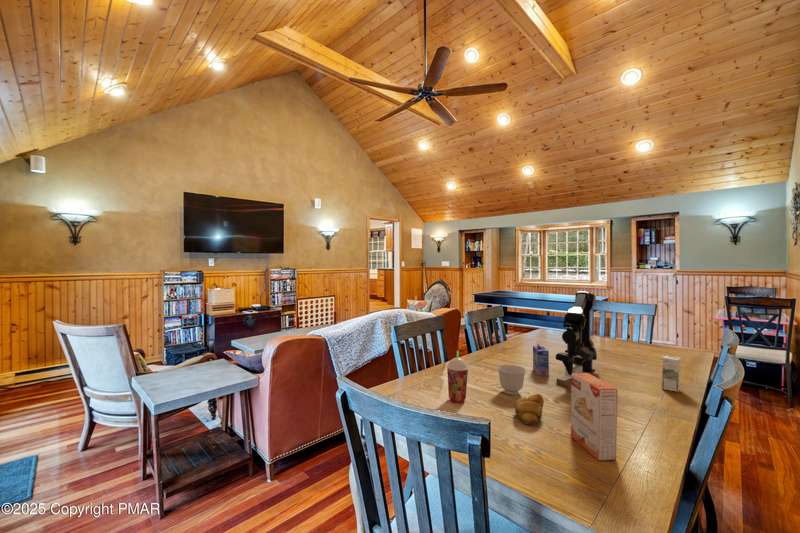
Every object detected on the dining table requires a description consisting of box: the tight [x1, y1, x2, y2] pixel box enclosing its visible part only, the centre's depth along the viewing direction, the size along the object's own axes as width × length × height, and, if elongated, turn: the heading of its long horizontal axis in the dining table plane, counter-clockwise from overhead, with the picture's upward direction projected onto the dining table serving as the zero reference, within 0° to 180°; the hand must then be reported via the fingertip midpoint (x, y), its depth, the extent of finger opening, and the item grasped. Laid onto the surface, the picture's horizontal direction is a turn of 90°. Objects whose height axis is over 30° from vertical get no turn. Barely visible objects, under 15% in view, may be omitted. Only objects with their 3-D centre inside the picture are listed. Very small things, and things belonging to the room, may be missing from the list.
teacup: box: [496, 364, 527, 396], centre depth 153 cm, size 12×15×10 cm
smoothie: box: [446, 350, 469, 404], centre depth 142 cm, size 8×8×20 cm
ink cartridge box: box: [532, 343, 550, 377], centre depth 178 cm, size 10×6×14 cm, turn 174°
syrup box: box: [661, 354, 681, 393], centre depth 156 cm, size 6×6×14 cm
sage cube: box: [564, 364, 583, 378], centre depth 161 cm, size 5×5×5 cm
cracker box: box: [570, 372, 618, 462], centre depth 107 cm, size 14×6×21 cm, turn 5°
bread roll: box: [514, 393, 545, 425], centre depth 127 cm, size 13×10×8 cm
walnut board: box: [556, 375, 572, 390], centre depth 161 cm, size 10×10×3 cm
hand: (573, 374), depth 161 cm, fingers closed on sage cube, 5 cm apart
